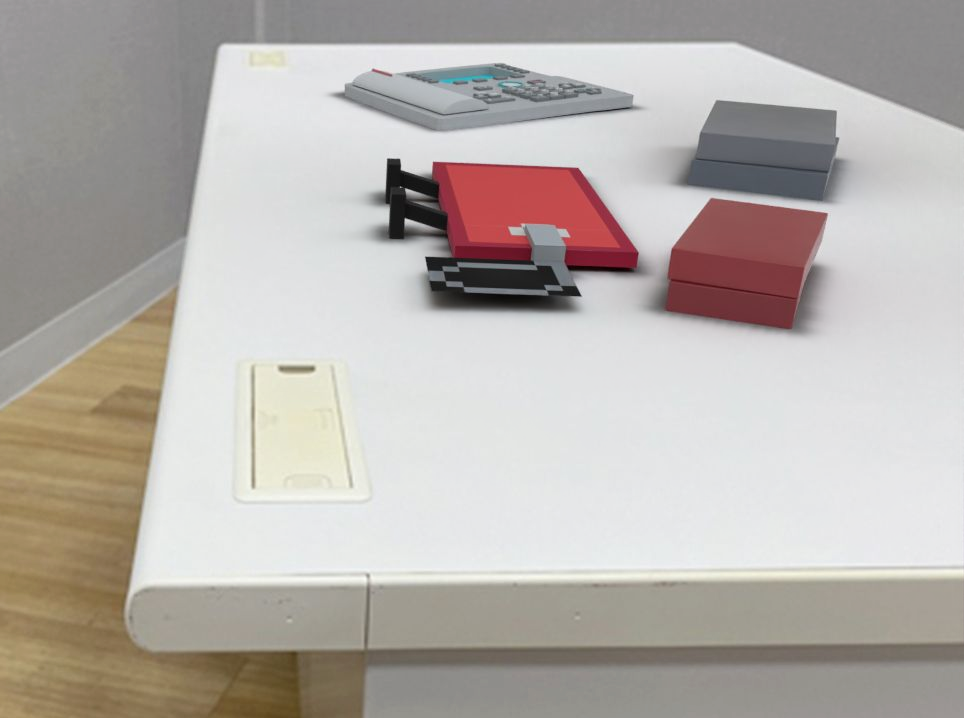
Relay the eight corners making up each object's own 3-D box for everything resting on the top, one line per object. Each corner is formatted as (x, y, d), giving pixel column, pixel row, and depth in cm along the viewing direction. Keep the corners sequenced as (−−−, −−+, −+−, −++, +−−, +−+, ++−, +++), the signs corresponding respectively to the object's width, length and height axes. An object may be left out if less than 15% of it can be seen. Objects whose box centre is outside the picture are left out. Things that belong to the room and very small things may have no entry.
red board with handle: (396, 306, 67) (662, 316, 68) (399, 256, 66) (670, 266, 66) (383, 178, 93) (576, 186, 93) (384, 140, 91) (580, 148, 92)
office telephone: (441, 103, 105) (323, 65, 119) (439, 134, 107) (323, 93, 120) (637, 79, 116) (507, 47, 130) (633, 108, 117) (506, 73, 131)
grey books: (822, 202, 90) (834, 146, 88) (681, 185, 93) (690, 131, 91) (834, 161, 101) (846, 111, 99) (708, 147, 104) (717, 98, 102)
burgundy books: (798, 332, 66) (813, 268, 64) (660, 311, 69) (670, 249, 67) (815, 269, 76) (828, 211, 74) (694, 252, 78) (703, 196, 76)
